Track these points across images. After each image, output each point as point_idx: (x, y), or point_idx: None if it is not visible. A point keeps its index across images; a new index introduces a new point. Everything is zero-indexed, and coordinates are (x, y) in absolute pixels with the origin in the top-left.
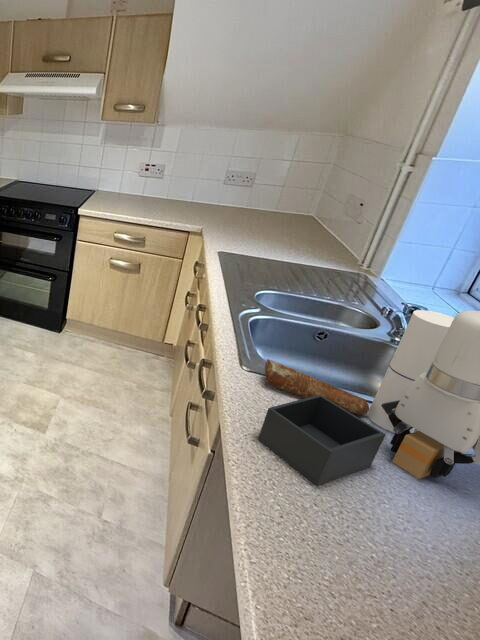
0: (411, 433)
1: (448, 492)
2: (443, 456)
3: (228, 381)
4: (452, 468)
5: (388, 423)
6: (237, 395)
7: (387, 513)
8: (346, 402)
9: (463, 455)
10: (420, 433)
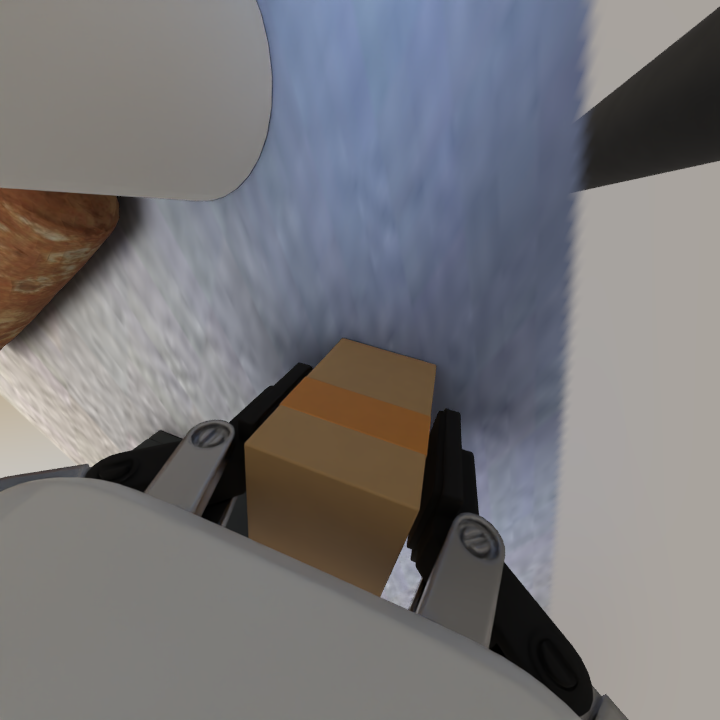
0: (249, 528)
1: (488, 451)
2: (417, 561)
3: (11, 401)
4: (474, 483)
5: (180, 198)
6: (63, 440)
7: (395, 601)
8: (38, 272)
9: (500, 641)
10: (265, 501)
